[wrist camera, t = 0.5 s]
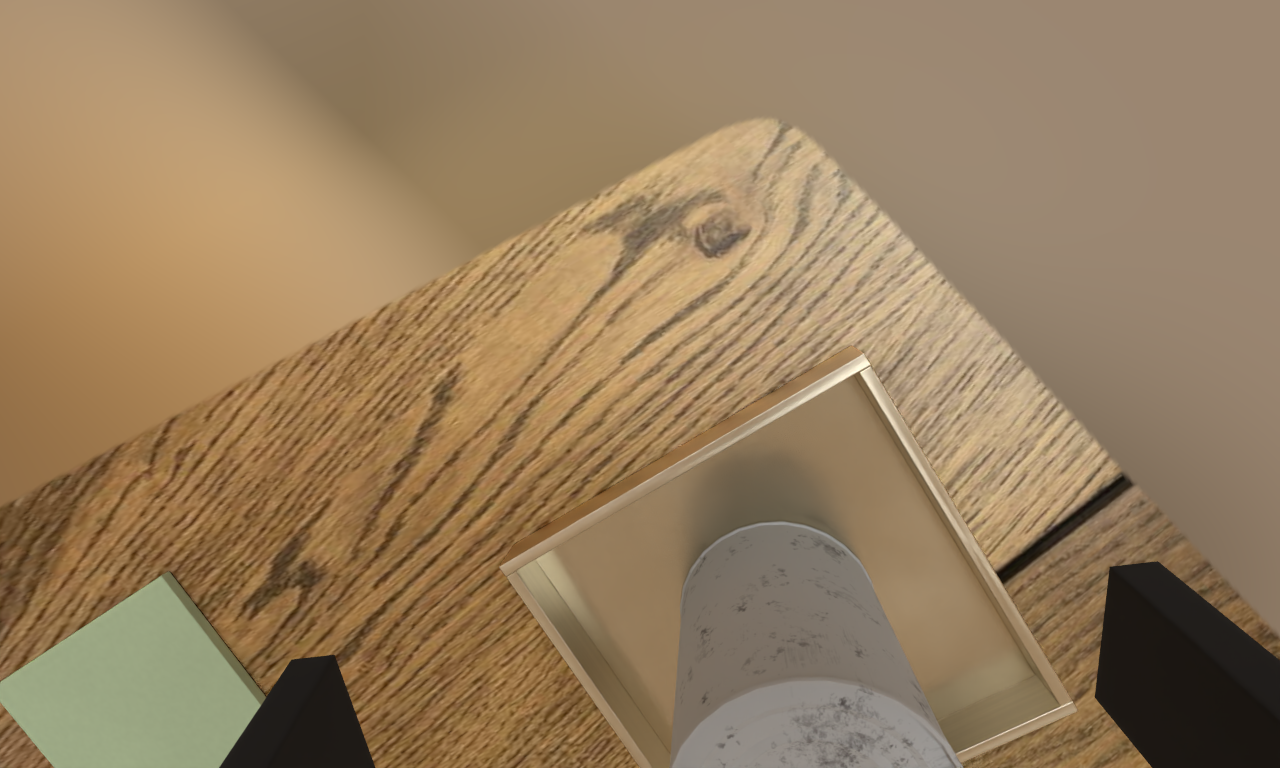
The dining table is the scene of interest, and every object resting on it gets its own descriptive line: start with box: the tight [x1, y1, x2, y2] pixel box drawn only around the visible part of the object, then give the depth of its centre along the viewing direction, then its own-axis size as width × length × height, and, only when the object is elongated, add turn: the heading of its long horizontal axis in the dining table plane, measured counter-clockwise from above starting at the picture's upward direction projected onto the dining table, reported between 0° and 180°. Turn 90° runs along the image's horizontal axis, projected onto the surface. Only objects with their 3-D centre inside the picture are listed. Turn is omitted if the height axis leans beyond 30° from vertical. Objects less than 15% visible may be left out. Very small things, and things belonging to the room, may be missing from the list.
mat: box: [0, 572, 266, 768], centre depth 38 cm, size 14×14×1 cm
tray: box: [499, 345, 1078, 768], centre depth 33 cm, size 27×19×3 cm
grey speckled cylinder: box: [669, 521, 963, 768], centre depth 27 cm, size 10×10×12 cm
